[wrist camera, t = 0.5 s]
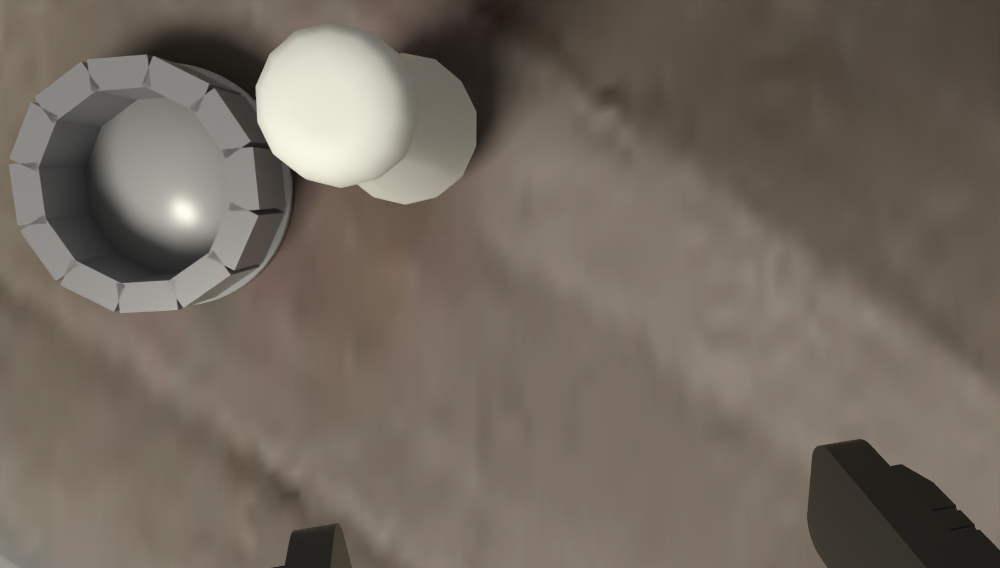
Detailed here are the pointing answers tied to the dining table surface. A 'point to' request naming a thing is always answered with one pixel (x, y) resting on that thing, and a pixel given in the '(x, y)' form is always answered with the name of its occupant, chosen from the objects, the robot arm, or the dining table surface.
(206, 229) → the bowl
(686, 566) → the dining table surface
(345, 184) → the salt shaker
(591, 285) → the dining table surface
